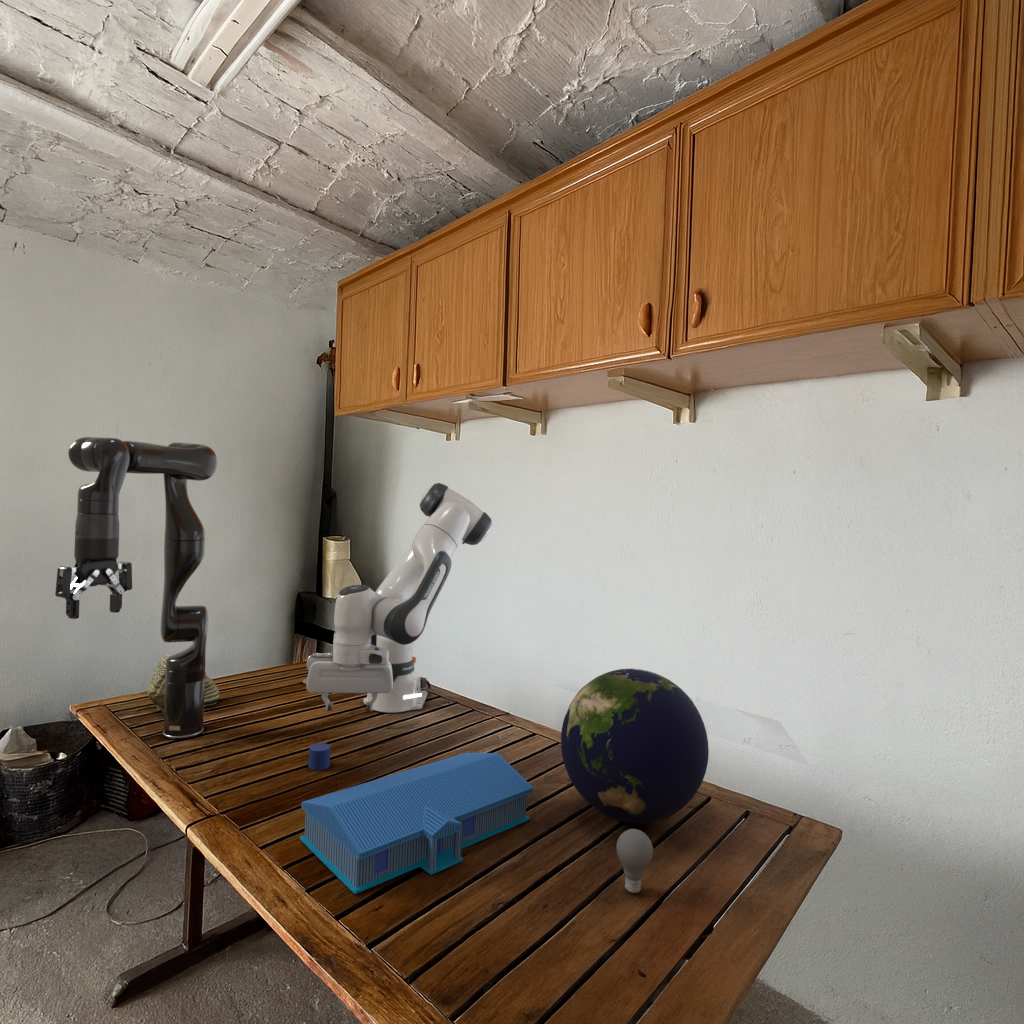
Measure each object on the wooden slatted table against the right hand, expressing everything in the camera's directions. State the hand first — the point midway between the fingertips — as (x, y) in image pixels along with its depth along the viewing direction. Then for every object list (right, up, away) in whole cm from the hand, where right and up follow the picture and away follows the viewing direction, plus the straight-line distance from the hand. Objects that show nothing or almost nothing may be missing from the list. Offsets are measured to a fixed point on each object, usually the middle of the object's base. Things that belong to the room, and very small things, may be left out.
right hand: (349, 710), depth 153 cm
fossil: (-57, -9, +32) cm, 66 cm away
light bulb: (+59, -16, -47) cm, 77 cm away
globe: (+64, -15, -21) cm, 69 cm away
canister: (-6, -12, -4) cm, 14 cm away
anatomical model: (-25, -10, +62) cm, 67 cm away
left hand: (-46, +27, -24) cm, 58 cm away
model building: (+22, -14, -31) cm, 41 cm away
